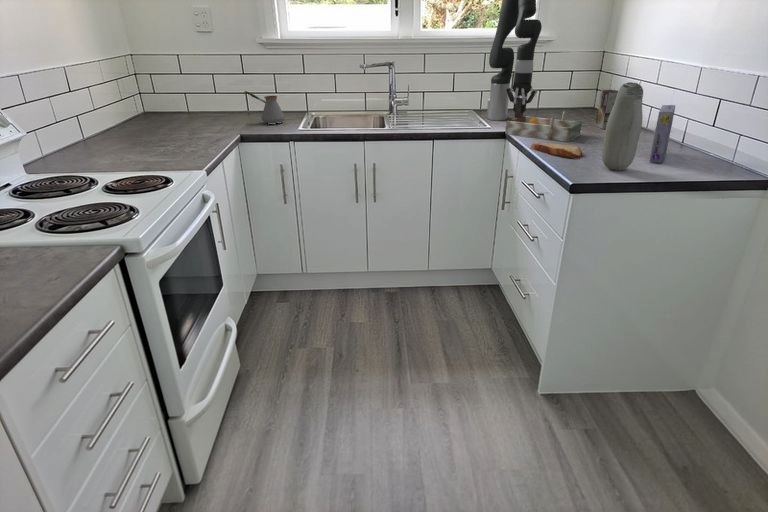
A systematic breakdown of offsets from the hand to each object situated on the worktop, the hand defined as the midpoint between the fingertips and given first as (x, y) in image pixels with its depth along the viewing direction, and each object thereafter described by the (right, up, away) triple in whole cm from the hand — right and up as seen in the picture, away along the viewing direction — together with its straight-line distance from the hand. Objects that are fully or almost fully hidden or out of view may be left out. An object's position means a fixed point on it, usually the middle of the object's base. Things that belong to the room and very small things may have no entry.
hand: (519, 112), depth 217 cm
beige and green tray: (+9, -10, -2) cm, 13 cm away
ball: (+6, -5, -2) cm, 8 cm away
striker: (0, -5, +2) cm, 5 cm away
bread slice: (+6, -24, -29) cm, 38 cm away
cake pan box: (+40, -28, -38) cm, 62 cm away
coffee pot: (-120, +4, +31) cm, 124 cm away
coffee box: (+42, -4, +9) cm, 44 cm away
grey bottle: (+19, -34, -50) cm, 64 cm away
